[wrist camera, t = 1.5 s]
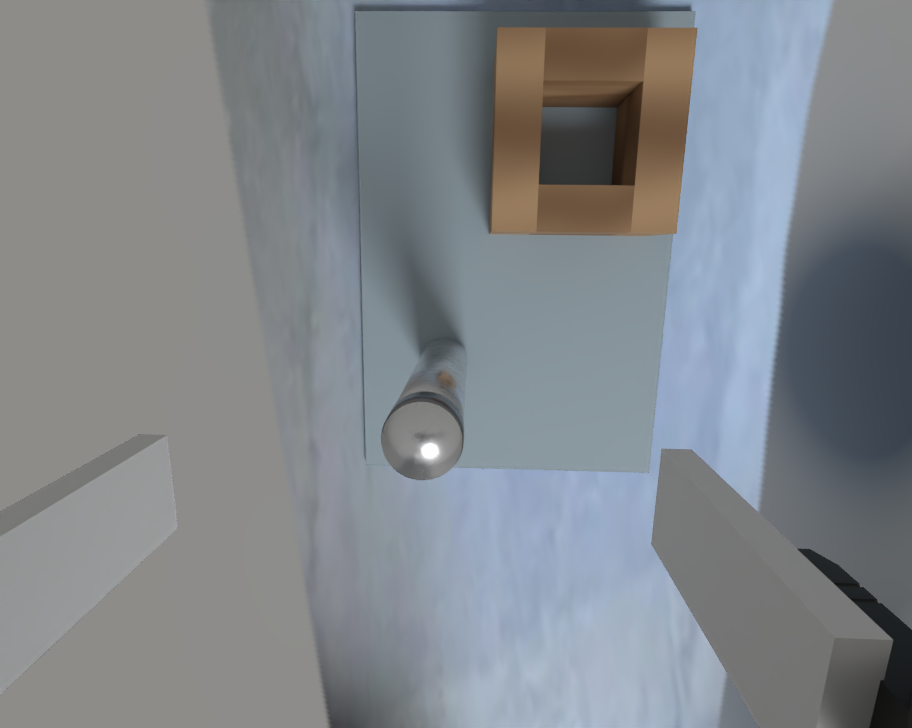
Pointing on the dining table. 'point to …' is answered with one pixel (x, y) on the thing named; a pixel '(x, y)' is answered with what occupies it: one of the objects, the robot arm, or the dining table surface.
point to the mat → (499, 253)
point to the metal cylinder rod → (429, 414)
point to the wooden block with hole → (596, 86)
